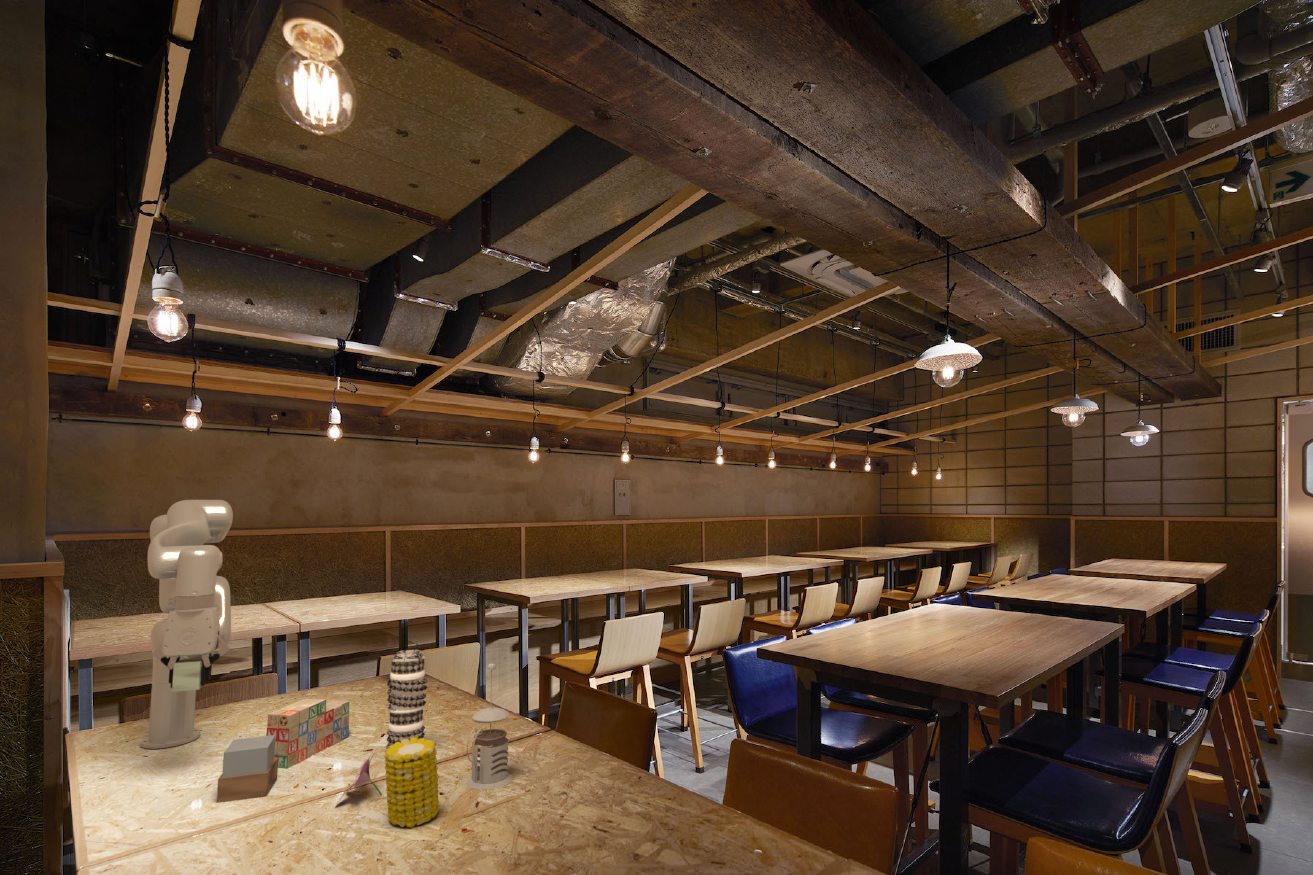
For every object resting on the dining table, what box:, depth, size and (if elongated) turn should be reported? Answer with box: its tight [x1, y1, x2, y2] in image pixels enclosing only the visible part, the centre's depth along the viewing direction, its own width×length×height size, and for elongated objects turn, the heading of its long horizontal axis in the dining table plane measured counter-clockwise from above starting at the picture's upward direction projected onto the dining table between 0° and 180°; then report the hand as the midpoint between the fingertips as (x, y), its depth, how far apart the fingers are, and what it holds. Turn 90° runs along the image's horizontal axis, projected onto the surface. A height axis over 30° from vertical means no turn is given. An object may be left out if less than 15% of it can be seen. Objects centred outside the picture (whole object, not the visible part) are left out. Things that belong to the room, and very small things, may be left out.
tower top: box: [221, 735, 275, 778], centre depth 140 cm, size 8×8×5 cm
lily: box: [334, 747, 383, 808], centre depth 136 cm, size 12×12×10 cm
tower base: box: [216, 757, 279, 804], centre depth 140 cm, size 9×9×5 cm
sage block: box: [172, 656, 204, 692], centre depth 147 cm, size 5×5×6 cm
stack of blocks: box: [266, 698, 350, 770], centre depth 163 cm, size 21×6×12 cm, turn 168°
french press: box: [466, 663, 513, 791], centre depth 144 cm, size 10×12×25 cm
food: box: [384, 737, 440, 829], centre depth 127 cm, size 15×12×10 cm
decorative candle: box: [385, 648, 428, 749], centre depth 158 cm, size 9×9×25 cm
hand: (189, 684), depth 147 cm, fingers closed on sage block, 5 cm apart
